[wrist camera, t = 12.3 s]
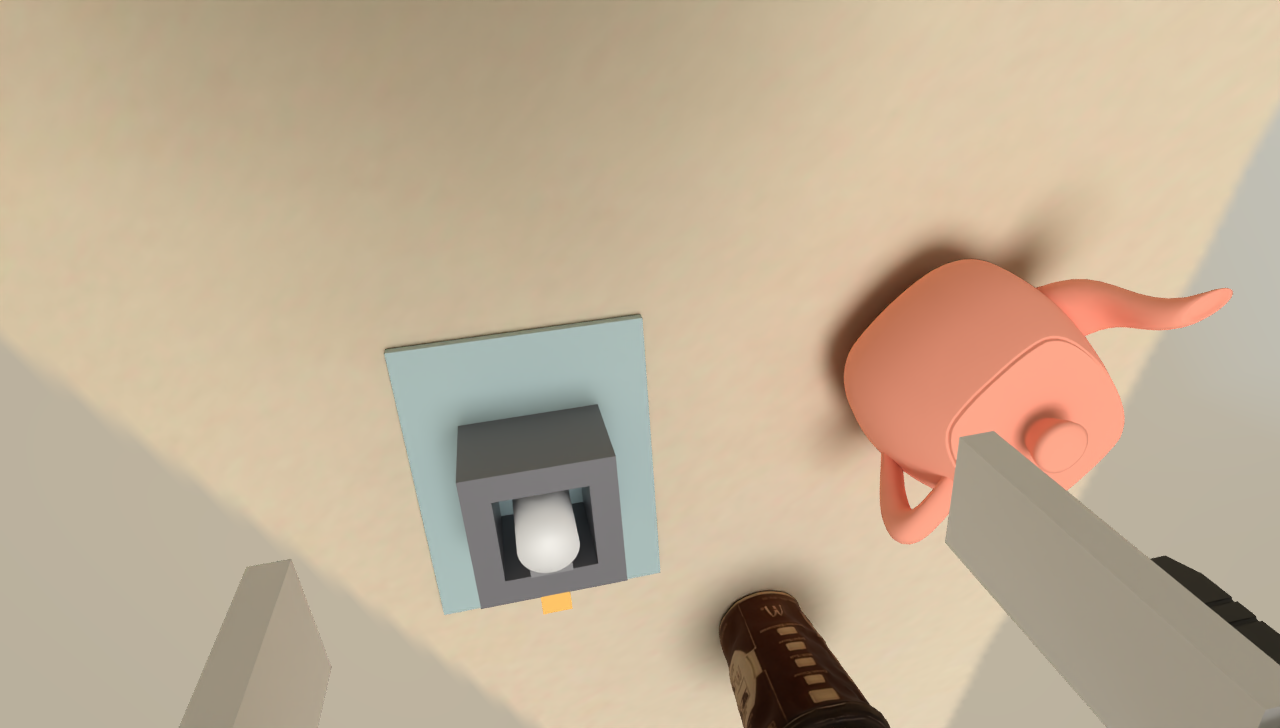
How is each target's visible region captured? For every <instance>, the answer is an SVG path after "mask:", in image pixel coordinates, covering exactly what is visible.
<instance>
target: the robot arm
mask: <svg viewBox="0 0 1280 728" xmlns="http://www.w3.org/2000/svg"><path fill="white" fill-rule="evenodd" d="M945 543H946V544H947V545H948V546H949V548H950V549H951V550H952V551H953V552H954V553H955V554H956V556H957V557H958V558H959V559H960V560H961V561H962V562H963V564H964V565H965V566H966V567H967V568H968V569H969V570H970V572H971V573H972V574H973V575H974V576H975V577H976V579H977V580H978V581H979V582H980V583H981V584H982V585H983V587H984V588H985V589H986V590H987V591H988V592H989V593H990V595H991V596H992V597H993V598H994V599H995V600H996V601H997V603H998V604H999V605H1000V606H1001V607H1002V608H1003V609H1004V611H1005V612H1006V613H1007V614H1008V615H1009V616H1010V617H1011V619H1012V620H1013V621H1014V622H1015V623H1016V624H1017V625H1018V627H1019V628H1020V629H1021V630H1022V631H1023V632H1024V633H1025V635H1026V636H1027V637H1028V638H1029V639H1030V640H1031V641H1032V643H1033V644H1034V645H1035V646H1036V647H1037V648H1038V649H1039V651H1040V652H1041V653H1042V654H1043V655H1044V656H1045V658H1046V659H1047V660H1048V661H1049V662H1050V663H1051V664H1052V666H1053V667H1054V668H1055V669H1056V670H1057V671H1058V672H1059V674H1060V675H1061V676H1062V677H1063V678H1064V679H1065V680H1066V682H1067V683H1068V684H1069V685H1070V686H1071V687H1072V688H1073V689H1074V691H1075V692H1076V693H1077V694H1078V695H1079V696H1080V698H1081V699H1082V700H1083V701H1084V702H1085V703H1086V704H1087V706H1088V707H1090V709H1091V710H1092V711H1093V713H1094V714H1095V715H1096V716H1097V717H1098V718H1099V719H1100V720H1101V722H1102V723H1103V724H1104V725H1105V726H1106V727H1107V728H1280V634H1279V633H1277V632H1276V631H1275V630H1273V629H1272V628H1271V627H1269V626H1268V625H1267V624H1266V623H1264V622H1263V621H1260V622H1259V621H1258V620H1257V619H1256V616H1255V615H1254V614H1253V613H1252V612H1250V611H1249V610H1248V609H1246V608H1245V607H1244V606H1243V605H1241V604H1240V603H1239V602H1234V601H1233V600H1232V597H1231V596H1230V595H1228V594H1227V593H1226V592H1225V591H1223V590H1222V589H1221V588H1219V587H1218V586H1217V585H1216V584H1214V583H1213V582H1212V581H1211V580H1209V579H1208V578H1207V577H1205V576H1204V575H1203V574H1201V573H1199V572H1197V571H1195V570H1193V569H1191V568H1189V567H1187V566H1185V565H1183V564H1181V563H1179V562H1177V561H1175V560H1173V559H1171V558H1169V557H1167V556H1161V557H1157V558H1152V559H1149V558H1148V557H1147V556H1146V555H1144V554H1143V553H1142V552H1141V551H1139V550H1138V549H1137V548H1136V547H1135V546H1133V545H1132V544H1131V543H1130V542H1129V541H1127V540H1126V539H1125V538H1124V537H1123V536H1121V535H1120V534H1119V533H1118V532H1116V531H1115V530H1114V529H1113V528H1111V527H1110V526H1109V525H1108V524H1107V523H1105V522H1104V521H1103V520H1102V519H1100V518H1099V517H1098V516H1097V515H1096V514H1094V513H1093V512H1092V511H1091V510H1090V509H1088V508H1087V507H1086V506H1085V505H1083V504H1082V503H1081V502H1080V501H1079V500H1077V499H1076V498H1075V497H1074V496H1072V495H1071V494H1070V493H1069V492H1068V491H1066V490H1065V489H1064V488H1063V487H1061V486H1060V485H1059V484H1058V483H1057V482H1055V481H1054V480H1053V479H1052V478H1051V477H1049V476H1048V475H1047V474H1046V473H1044V472H1043V471H1042V470H1041V469H1040V468H1038V467H1037V466H1036V465H1035V464H1033V463H1032V462H1031V461H1030V460H1029V459H1027V458H1026V457H1025V456H1024V455H1022V454H1021V453H1020V452H1019V451H1018V450H1016V449H1015V448H1014V447H1013V446H1011V445H1010V444H1009V443H1008V442H1007V441H1005V440H1004V439H1003V438H1002V437H1000V436H999V435H998V434H997V433H996V432H994V431H990V432H985V433H980V434H974V435H969V436H963V437H960V438H959V445H958V452H957V459H956V467H955V474H954V481H953V488H952V496H951V503H950V510H949V517H948V525H947V532H946V539H945ZM331 668H332V667H331V664H330V661H329V659H328V656H327V653H326V651H325V648H324V645H323V643H322V640H321V637H320V634H319V632H318V629H317V626H316V624H315V621H314V619H313V616H312V613H311V610H310V608H309V605H308V602H307V600H306V598H305V594H304V592H303V589H302V586H301V584H300V581H299V578H298V576H297V573H296V570H295V568H294V565H293V562H292V560H291V559H288V560H282V561H277V562H271V563H267V564H261V565H256V566H249V567H246V570H245V572H244V574H243V577H242V579H241V582H240V584H239V586H238V589H237V591H236V593H235V596H234V598H233V600H232V603H231V605H230V608H229V610H228V612H227V615H226V617H225V619H224V622H223V624H222V627H221V629H220V632H219V634H218V636H217V638H216V641H215V643H214V645H213V648H212V650H211V653H210V655H209V657H208V660H207V662H206V664H205V667H204V669H203V672H202V674H201V676H200V679H199V681H198V683H197V686H196V688H195V690H194V693H193V695H192V698H191V700H190V702H189V705H188V707H187V709H186V712H185V714H184V717H183V719H182V721H181V724H180V726H179V728H318V725H319V720H320V716H321V712H322V707H323V702H324V698H325V694H326V690H327V685H328V681H329V676H330V672H331Z"/></svg>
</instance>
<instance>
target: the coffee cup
mask: <svg viewBox="0 0 1280 728" xmlns="http://www.w3.org/2000/svg"><path fill="white" fill-rule="evenodd" d="M719 635H720V643H721V646H722V649H723V653H724V655H725V658H726V660H727V663H728V666H729V676H730V681H731V685H732V689H733V692H734V695H735V698H736V702H737V706H738V710H739V713H740V716H741V719H742V723H743V727H744V728H890V726H889V724H888V722H887V720H886V719H885V718H884V716H883V715H882V713H881V712H879V711H878V710H876V709H875V708H874V707H872V706H871V705H870V704H869V703H868V701H867V700H866V699H865V697H864V696H863V694H862V693H861V691H860V690H859V689H858V687H857V686H856V684H855V683H854V682H853V680H852V679H851V678H850V676H849V675H848V674H847V672H846V671H845V670H844V669H843V667H842V666H841V664H840V663H839V661H838V660H837V658H836V657H835V656H834V655H833V653H832V652H831V651H830V650H829V648H828V647H827V645H826V642H825V641H824V639H823V638H822V637H821V636H820V635H819V634H818V632H817V631H816V630H815V628H814V627H813V625H812V624H811V622H810V621H809V620H808V619H807V617H806V616H805V615H804V613H803V612H802V611H801V609H800V607H799V605H798V602H797V601H796V599H795V598H793V597H792V596H790V595H789V594H787V593H783V592H773V591H766V592H759V593H755V594H752V595H749V596H747V597H745V598H743V599H741V600H739V601H737V602H736V603H735V604H734V605H733V606H732V607H731V608H730V610H729V611H728V612H727V613H726V615H725V616H724V618H723V619H722V622H721V624H720V629H719Z"/></svg>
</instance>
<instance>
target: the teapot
mask: <svg viewBox="0 0 1280 728" xmlns="http://www.w3.org/2000/svg"><path fill="white" fill-rule="evenodd" d="M1232 295H1233V291H1232V290H1231V289H1229V288H1221V289H1215V290H1211V291H1209V292H1205V293H1201V294H1197V295H1194V296H1190V297H1184V298H1171V299H1167V298H1157V297H1151V296H1146V295H1142V294H1138V293H1135V292H1132V291H1129V290H1126V289H1123V288H1120V287H1117V286H1114V285H1111V284H1107V283H1104V282H1100V281H1094V280H1088V279H1071V280H1065V281H1059V282H1054V283H1051V284H1048V285H1044V286H1041V287H1037V288H1035V287H1033V286H1032V285H1030V284H1029V283H1027V282H1026V281H1024V280H1023V279H1021V278H1019V277H1018V276H1016V275H1014V274H1013V273H1011V272H1009V271H1007V270H1005V269H1003V268H1001V267H999V266H997V265H994V264H992V263H990V262H986V261H982V260H978V259H964V260H958V261H954V262H951V263H947V264H945V265H942V266H940V267H938V268H936V269H934V270H932V271H931V272H929V273H927V274H926V275H925V276H923V277H922V278H920V279H919V280H917V281H916V282H915V283H914V284H912V285H911V286H910V287H909V288H908V289H906V290H905V291H904V292H903V293H902V294H900V295H899V296H898V297H897V298H896V299H895V300H894V301H893V302H892V303H891V304H890V305H888V306H887V307H886V308H885V309H884V310H883V311H882V312H881V314H880V315H879V316H878V317H877V318H876V319H875V320H874V321H873V322H872V323H871V324H870V325H869V326H868V328H867V329H866V330H865V331H864V332H863V333H862V334H861V336H860V337H859V338H858V340H857V341H856V342H855V344H854V345H853V346H852V348H851V350H850V352H849V354H848V357H847V360H846V364H845V370H844V386H845V393H846V396H847V399H848V402H849V405H850V407H851V409H852V411H853V414H854V416H855V418H856V420H857V422H858V424H859V425H860V427H861V429H862V431H863V432H864V434H865V435H866V436H867V438H868V439H869V441H870V442H871V443H872V444H873V445H874V446H875V447H876V448H877V449H878V450H879V451H880V452H881V472H880V507H881V514H882V518H883V521H884V524H885V526H886V529H887V531H888V533H889V534H890V536H891V537H892V538H893V539H894V540H896V541H898V542H899V543H901V544H913V543H916V542H919V541H920V540H922V539H924V538H925V537H926V536H928V535H929V534H930V533H931V532H932V531H933V530H934V529H935V528H936V527H937V526H938V525H939V524H940V523H941V522H942V521H943V520H944V519H945V518H946V516H947V515H948V514H949V510H950V503H951V496H952V488H953V481H954V474H955V467H956V459H957V452H958V445H959V438H960V437H963V436H969V435H974V434H980V433H985V432H990V431H994V432H996V433H997V434H998V435H999V436H1000V437H1002V438H1003V439H1004V440H1005V441H1007V442H1008V443H1009V444H1010V445H1011V446H1013V447H1014V448H1015V449H1016V450H1018V451H1019V452H1020V453H1021V454H1022V455H1024V456H1025V457H1026V458H1027V459H1029V460H1030V461H1031V462H1032V463H1033V464H1035V465H1036V466H1037V467H1038V468H1040V469H1041V470H1042V471H1043V472H1044V473H1046V474H1047V475H1048V476H1049V477H1051V478H1052V479H1053V480H1054V481H1055V482H1057V483H1058V484H1059V485H1060V486H1061V487H1063V488H1064V489H1065V490H1066V491H1067V490H1068V489H1069V488H1071V487H1072V486H1073V485H1074V484H1075V483H1077V482H1078V481H1079V480H1080V479H1081V478H1082V477H1083V476H1084V475H1085V474H1087V473H1088V472H1089V471H1090V470H1091V469H1092V468H1093V467H1094V466H1095V465H1096V464H1097V463H1098V462H1099V461H1100V460H1101V459H1102V458H1103V457H1104V456H1105V455H1106V454H1107V453H1108V452H1109V451H1110V450H1111V449H1112V448H1113V447H1114V445H1115V444H1116V443H1117V441H1118V440H1119V439H1120V437H1121V434H1122V431H1123V427H1124V410H1123V406H1122V402H1121V399H1120V396H1119V394H1118V392H1117V389H1116V387H1115V385H1114V383H1113V381H1112V379H1111V378H1110V376H1109V374H1108V372H1107V370H1106V368H1105V366H1104V364H1103V363H1102V361H1101V360H1100V358H1099V357H1098V355H1097V354H1096V352H1095V351H1094V349H1093V348H1092V346H1091V345H1090V343H1089V342H1088V340H1087V339H1086V337H1085V336H1086V335H1088V334H1091V333H1094V332H1096V331H1099V330H1103V329H1107V328H1114V327H1129V328H1138V329H1146V330H1170V329H1176V328H1182V327H1185V326H1189V325H1191V324H1194V323H1197V322H1199V321H1201V320H1203V319H1205V318H1207V317H1208V316H1210V315H1212V314H1213V313H1215V312H1216V311H1218V310H1219V309H1220V308H1222V307H1223V306H1224V305H1225V304H1226V303H1227V302H1228V301H1229V300H1230V298H1231V297H1232ZM903 471H904V472H906V473H907V474H909V475H910V476H912V477H913V478H915V479H916V480H918V481H920V482H921V483H923V484H925V485H927V486H929V487H931V488H933V490H932V491H931V492H930V493H929V494H928V496H927V497H926V498H925V499H924V500H923V501H922V502H921V503H920V504H919V505H918V506H917V507H915V508H914V509H911V508H910V506H909V503H908V500H907V496H906V492H905V486H904V476H903Z"/></svg>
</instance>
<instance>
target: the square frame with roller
mask: <svg viewBox="0 0 1280 728" xmlns="http://www.w3.org/2000/svg"><path fill="white" fill-rule="evenodd" d="M456 487H457V492H458V497H459V502H460V507H461V512H462V517H463V522H464V527H465V532H466V537H467V542H468V546H469V551H470V556H471V561H472V566H473V571H474V576H475V581H476V586H477V591H478V596H479V601H480V606H481V609H484V608H489V607H494V606H499V605H504V604H509V603H514V602H519V601H524V600H529V599H535V598H540V597H541V601H542V608H543V614H547V613H552V612H557V611H562V610H567V609H572V602H571V594H570V591H575V590H580V589H585V588H591V587H596V586H601V585H606V584H611V583H616V582H621V581H626V580H627V569H626V559H625V548H624V537H623V527H622V516H621V506H620V495H619V484H618V474H617V463H616V455H615V452H614V449H613V447H612V444H611V441H610V438H609V435H608V432H607V429H606V427H605V424H604V421H603V418H602V415H601V412H600V409H599V407H598V404H595V405H589V406H583V407H576V408H570V409H563V410H557V411H551V412H544V413H538V414H531V415H525V416H518V417H512V418H506V419H499V420H493V421H486V422H480V423H474V424H467V425H461V426H458V434H457V460H456ZM581 487H582V496H583V502H579V503H573V504H572V509H573V513H574V518H575V523H576V527H577V532H578V536H579V541H580V548H579V552H578V554H577V556H576V558H575V559H574V560H573V561H572V563H573V570H570V571H565V572H560V573H555V574H549V575H544V576H539V577H534V578H531V573H530V569H528V568H526V567H525V566H524V565H523V564H522V563H521V562H520V560H519V558H518V555H517V547H516V536H515V524H514V514H511V515H505V516H501V512H500V506H499V502H500V501H506V500H512V499H518V498H523V497H529V496H535V495H541V494H546V493H552V492H558V491H564V490H569V489H575V488H581Z"/></svg>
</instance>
